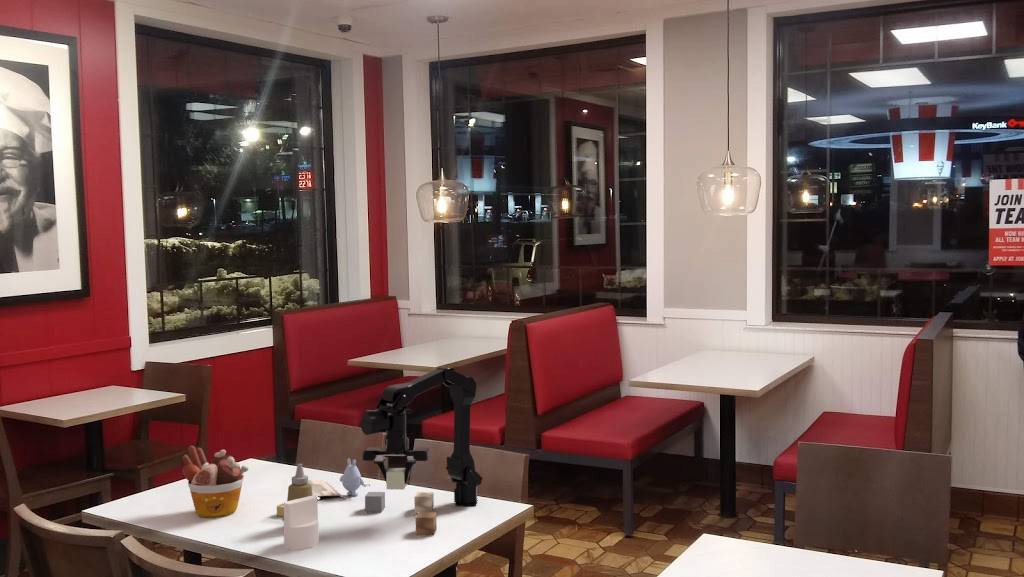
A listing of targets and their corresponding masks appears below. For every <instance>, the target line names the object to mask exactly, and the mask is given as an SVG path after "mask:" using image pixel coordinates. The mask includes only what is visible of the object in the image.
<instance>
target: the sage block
mask: <svg viewBox="0 0 1024 577" xmlns="http://www.w3.org/2000/svg"><path fill="white" fill-rule="evenodd" d="M385 483H386V490H403V491H404V490H405V489H406V487H407V486H408V485H407V484H408V483H407V484H405V467H389V468H388V471H387V472H386V481H385Z"/></svg>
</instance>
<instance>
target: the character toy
mask: <svg viewBox="0 0 1024 577" xmlns="http://www.w3.org/2000/svg"><path fill="white" fill-rule="evenodd" d="M276 516H281V517H284V502H283V503H280V504H278V505H276Z"/></svg>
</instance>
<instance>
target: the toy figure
mask: <svg viewBox="0 0 1024 577" xmlns="http://www.w3.org/2000/svg"><path fill="white" fill-rule="evenodd" d="M346 463H347V466H346V468H345V470H344V472H343V474H342V475H340V478H339V482H341V483H342V486H343V488H344V489H345V490H346V491H347V492H346V495H348V496H353V497H358V496H359V493H358V492H356V491H357V490H358V489H359V488H360V487H361V486H362V487H363V486H364V485H365V481H364V480H363V479H362V475H361V473H360V471H359V469H358V467H357V466H356V464H357V460H356V459H354V458H353V459H352V461H351V458H350V457H349V458H347V459H346ZM351 494H352V495H351ZM357 495H358V496H357Z"/></svg>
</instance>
